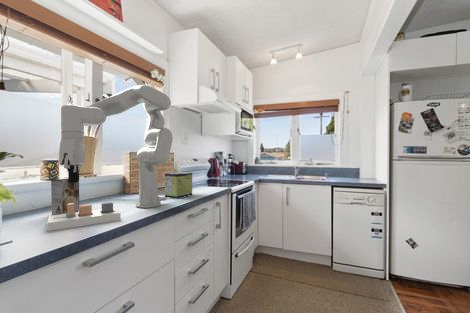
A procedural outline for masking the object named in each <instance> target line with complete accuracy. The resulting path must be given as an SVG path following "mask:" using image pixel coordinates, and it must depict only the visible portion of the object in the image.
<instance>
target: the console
mask: <svg viewBox="0 0 470 313" xmlns="http://www.w3.org/2000/svg"><path fill="white" fill-rule="evenodd" d="M75 214H76V216H74V217H66V214H60V215H52V214H51V215H48V218H47V232H53V231H58V230H59V231H60V230H64V229H65V230H66V229H69V228H71V229H72V228H78V227H83V226H91V225H96V224H97V225H98V224H103V223H109V222H116V221H121V212H120V211H119V210H118V209H117V208H116V207H113V212H110V213H102V208H101V209H93V210H92V215H87V216H80V217H79V211H76V212H75Z"/></svg>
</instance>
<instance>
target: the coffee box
mask: <svg viewBox="0 0 470 313" xmlns="http://www.w3.org/2000/svg"><path fill="white" fill-rule="evenodd" d="M50 182H51V184H50V190H51V216H52V215H60V214H66V213H68V203H74V212H75V213H76V212H79V206H80V181H79V182H72V183H69V182H68V177H65V178H59V179H58V178H57V179H51V180H50Z"/></svg>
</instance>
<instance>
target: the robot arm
mask: <svg viewBox="0 0 470 313" xmlns="http://www.w3.org/2000/svg"><path fill="white" fill-rule="evenodd" d="M171 103H172V101H171V99H170V97H169V96H168V95H167V94H165V93H164V92H162V91H160V90H158V89H156V88H154V87H153V86H150V85H147V84H141V85H136V86H135V85H134V86H132V87H129V88H127V89H125V90H123V91H120V92H118V93H116V94H113V95H110V96H109V97H106V98H104V99H102V100H99V101H96V102H93V103H91V104H88V105H87V106H82V105H81V106H80V105H77V104H63V105H61V106H60V131H61V132H60V137H61V138H60V141H59V153H58V163H59V165H60V166H63V168H64V169H66V172H67V174H68V175H67V176H68V177H67V178H68V182H69V183H72V182H79V183H80V170H81V168H82V167H83V164H84V163H85V160H86V153H85V144H84V141H85V127H90V126H91V127H94V126H100V125H103V124H104V123H105V122H106V120H107V117H110V116H116V115H120V114H122V113H124V112H126V111H129V109H131V108H133V107H136V106H137V105H140V104H142V106H143V109H144V110H145V112H146V114H147V117H148V122H147V126H146V130H145V134H144V142H145V144H147V145H148V146H145V147H142V148H140V149H139V150H138V152H137V154H136V160H137V164H138V202H136V203H135V207H136V208H138V209H139V208H141V209H149V208H151V209H152V208H156V207H160V206H161V202H162V201H163V202H164V201H167V199H168V198H167V197H165V196H163V197H162V196H158V195H159V193H158V190H159V189H158V188H159V186H158V185H159V184H158V182H159V179H158V177H159V175H158V174H159V173H158V169H157V166H162V165H165V164H166V163H167V162H168V160H169V158H170V153H171V149H172V146H173V145H172V144H173V138H174V137H173V133H172V131H171V130H170V129H169V128H167V127H165V118H164V116H163V114H162V113H161V112H162V111H166V110H167V111H168V109H169V108H170V107H171Z"/></svg>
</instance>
